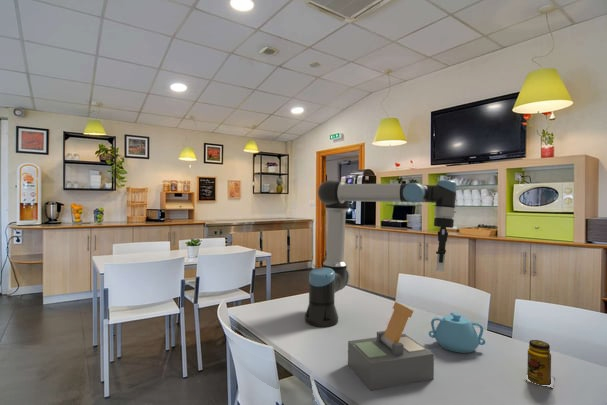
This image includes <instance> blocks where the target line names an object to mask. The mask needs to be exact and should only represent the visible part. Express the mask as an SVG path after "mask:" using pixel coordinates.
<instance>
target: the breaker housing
mask: <svg viewBox="0 0 607 405" xmlns="http://www.w3.org/2000/svg"><path fill="white" fill-rule="evenodd" d="M385 331H386V330H382V331H376V337H369V338H361V339H354V340H353V339H352V340H348V341H347V365H348V366H349V367H350V369H352V371H353V372H354V373H355V374H356V375H357V376H358V378H359V379H360V380H361V381H362V382H363V384H364V385H365V386H366V387H367V388H368V389H369V390H370V391H375V390H381V389H387V388H391V387H398V386H403V385H408V384H409V385H410V384H415V383H420V382H424V381H430V380H434V376H435V374H434V373H435V372H434V370H435V368H434V367H435V353H434V352H432V351H430V350H429V349H427V348H426V347H424V346H423V345H421V344H420V343H418V341H416V340H415V339H413V338H411V337H410V336H408V335H406V333H402V335H401V337H400V340H399V342H398V343H394V344H392V349H391V348H390V347H388V346H387V345H386V344H385V343H383V342H382V341H381V336H382V335H384V334H385Z"/></svg>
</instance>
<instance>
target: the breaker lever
mask: <svg viewBox="0 0 607 405" xmlns="http://www.w3.org/2000/svg"><path fill="white" fill-rule="evenodd" d="M392 309H393V311H392V315H391V317H390V319H389V323H387V324H388V325H387V326H386V330H384V331H385V334H384V335H382V336H381V341H382V342H383V343H385V344H386V345H387V346H388V347H390V348H391V349H392V344H394V343H398V342H399V340H400V337H401V335H402V334H403V332H404V330H405V327H406V325H407V322H408V321H409V318H410V319H411V318H412V315H413V314H414V309H413V310H412V309H410V308H409V307H407V306H406V305H404V304H401V303H400V302H397V301H394V304H393V306H392Z"/></svg>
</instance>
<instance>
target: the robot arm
mask: <svg viewBox="0 0 607 405" xmlns="http://www.w3.org/2000/svg"><path fill="white" fill-rule="evenodd" d="M317 196H318V198H319V200H320V202H321V203H323V204H325V205H324V206H325V207H324V208H325V210H326V211H327V234H326V235H327V236H326V257H325V258H326V260H324V261H323V263H322V267H317V268H314V269H311V270H310V272H309V276H308V306H307V309H306V311H305V313H304V314H305V316H304V321H305V323H306V324H307V325H310V326H313V327H320V328H325V327H332V326H336V325H337V324H338V323H339V315H338V311H337V308H336V305H335V294H336V293H337V292H339V291H341V290H343V289H344V288H346V286H347V285H348V284H349V281H350V274H349V273H350V272H349V270H348V269H347V267H348V266H347V263H346V262H345V242H346V241H345V239H346V217H347V216H346V213H347V212H348V211H349V209H350V202H373V203H374V202H377V203H378V202H381V203H383V202H384V203H388V202H389V203H414V204H415V203H430V204H431V203H435V207H434V221H433V227H437V228H438V227H439V228H440V229H439V231H437V241H438V246H437V247H438V248H437V251H436V252H435V254H437V257H436V270H435V271H439V272H444V271H445V259H446V253H447V250H446V247H447V246H446V243H447V242H448V236H449V231H448V230H447V229H449V228H450V229H452V228H454V224H455V222H454V221H455V220H454V218H455V214H456V213H457V210H455V207H456V198H457V182H456V181H454V180H449V179H448V180H446V179H444V180H441V179H440V180H438V181H437V183H436V184H421V183H418V182H411V183H347V182H345V181H342V180H332V179H330V180H329V179H327V180H326V181H324V182H322V183H321V184H320V185H319V187H318V190H317Z"/></svg>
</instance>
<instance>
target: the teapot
mask: <svg viewBox="0 0 607 405" xmlns="http://www.w3.org/2000/svg"><path fill="white" fill-rule="evenodd" d="M435 321H439V323H438V324H437V326H436V327H435ZM430 326H431V329H432V330H429V332H428V335H429V337H430V338H432V339H435V341H436V342H437V343H438V345H439V346H440V347H441V348H444V349H445V350H447V351H450V352H451V351H452V352H454V353H455V352H456V353H463V354H464V353H465V354H469V353H471V352H473V351H475V350H476V349H478V348H479V346H484V345H485V344H486V339H485V338H484V337H482V336H483V334H484V327H483V325H482V324H481V323H479V322H477V321H473V322H471V320H470V319H468V318H467V317H464V316H462V314H460V313H457V312H451V313H450V314H448V315H445V316H443V317H442V318H441V317H434V318H432V319H431V321H430ZM474 326H478V327H479V328H480V332H479V334H478V332H477V330H476V328H475V327H474Z"/></svg>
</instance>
